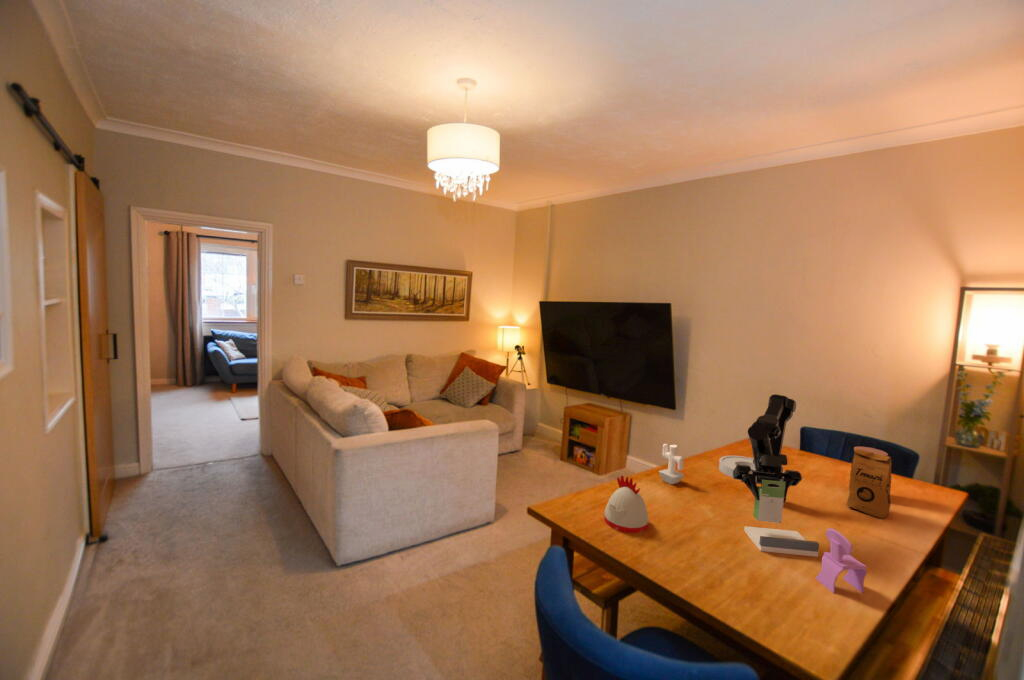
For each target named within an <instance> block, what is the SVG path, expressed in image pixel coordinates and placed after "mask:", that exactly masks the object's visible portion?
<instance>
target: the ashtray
mask: <svg viewBox="0 0 1024 680" xmlns="http://www.w3.org/2000/svg"><path fill="white" fill-rule="evenodd" d="M753 459H754V458H753V457H749V456H742V455H724V456H721V457H720V458H719V459H718V462H719V464H718V465H719V466H718V470H719V471H720V473H723V475H726V476H728V477H730V478H732V479H734V478H733V471H734V469H735V467H736V466H737V465H748V466H750V468H751V469H752V470H755V464H754V463H753ZM756 484H761V483H757V477H756Z"/></svg>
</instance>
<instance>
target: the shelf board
mask: <svg viewBox="0 0 1024 680" xmlns="http://www.w3.org/2000/svg"><path fill="white" fill-rule="evenodd" d="M743 531H744V532H745V533H746V534H747V536H748V537H749V538H750V539H749V540H751V541H752V542H753V544H754V545H755V546H756V547H757V548H758V550H759V551H760V552H766V553H778V554H787V555H794V556H795V555H796V556H797V555H798V556H804V557H805V556H807V557H816V558H817V557H818V556H819V550H820V549H819V548H820V543H819V541H814V540H806V538H805V537H804V536H802V534H800V532H798V531H797V530H788V529H787V530H786V529H776V528H767V527H757V526H756V527H755V526H747V525H745V526H744V530H743Z"/></svg>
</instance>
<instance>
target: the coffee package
mask: <svg viewBox="0 0 1024 680" xmlns="http://www.w3.org/2000/svg"><path fill="white" fill-rule="evenodd" d="M854 453H855V455H854V459H853V458H852V459H853V464H852V463H851V467H852V469H851V468H850V472H849V473H850V474H849V475H850V476H849V483H850V484H848V491H849V493H848V497H847V501H846V507H849V508H852V509H855V510H857V511H859V512H862V513H865V514H867V515H870V516H873V517H876V518H879V519H882V520H884V518H886V517H889V515H890V509H891V501H892V498H891V487H892V486H891V485H892V457H891V456H889V455H888V456H884V455H880V454H876V453H872V452H868V451H864V450H860V449H855V451H854ZM849 485H850V486H849Z"/></svg>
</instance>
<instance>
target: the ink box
mask: <svg viewBox="0 0 1024 680" xmlns="http://www.w3.org/2000/svg"><path fill="white" fill-rule="evenodd" d="M773 483H774V484H777V485H780V487H768V486H767V485H768V484H773ZM757 489H758V493H759V500H757V499H756V498H755V497H754V498H755V499H754V504H753V505H754V506H753V512H752V514H753V517H754V518H755V519H756V521H757V522H766V523H767V522H768V523H776V524H777V523H778V524H782V519H783V510H784V503H783V502H784V491H785V482H783V481H770V480H762V487H761V485H760V486H759V485H757Z"/></svg>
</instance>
